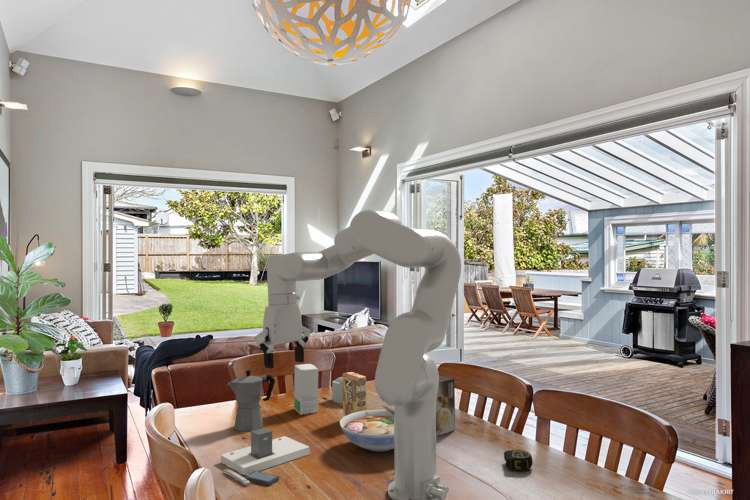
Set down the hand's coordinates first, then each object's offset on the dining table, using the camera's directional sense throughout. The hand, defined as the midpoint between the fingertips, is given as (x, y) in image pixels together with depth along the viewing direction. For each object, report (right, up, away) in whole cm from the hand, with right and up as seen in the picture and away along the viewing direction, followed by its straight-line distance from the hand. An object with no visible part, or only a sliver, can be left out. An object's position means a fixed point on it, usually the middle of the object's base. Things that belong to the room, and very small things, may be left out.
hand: (284, 364), depth 138 cm
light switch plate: (-5, -25, +1) cm, 26 cm away
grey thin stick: (-10, -25, -11) cm, 29 cm away
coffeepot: (-15, -26, +28) cm, 41 cm away
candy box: (+17, -26, +31) cm, 44 cm away
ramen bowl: (+25, -25, +8) cm, 37 cm away
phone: (-3, -25, -12) cm, 28 cm away
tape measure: (+60, -25, -6) cm, 65 cm away
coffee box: (+43, -25, +21) cm, 55 cm away
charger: (-6, -25, -1) cm, 26 cm away
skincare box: (0, -26, +44) cm, 51 cm away
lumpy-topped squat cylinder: (+15, -26, +56) cm, 63 cm away
